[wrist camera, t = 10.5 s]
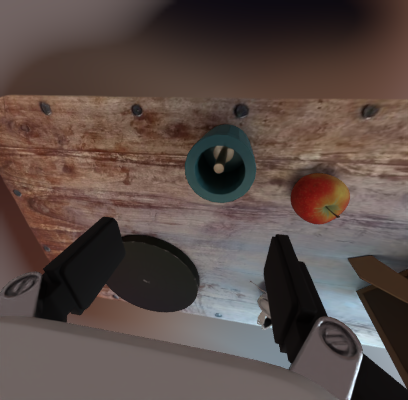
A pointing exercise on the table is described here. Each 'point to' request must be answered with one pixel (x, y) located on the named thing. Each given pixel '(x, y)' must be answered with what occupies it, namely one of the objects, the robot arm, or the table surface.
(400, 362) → the photo frame
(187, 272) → the disc
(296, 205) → the apple
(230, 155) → the rod on round base
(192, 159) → the jar
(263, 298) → the headphones
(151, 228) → the table surface
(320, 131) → the table surface
